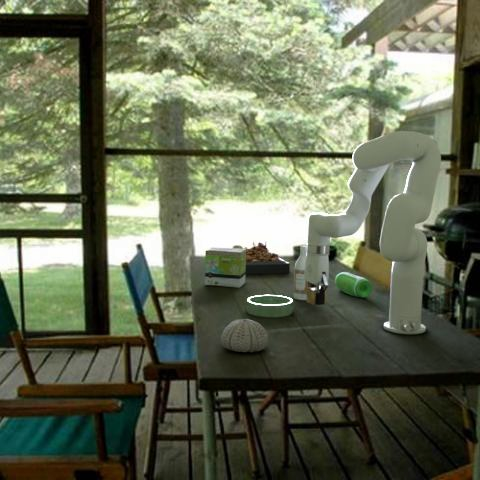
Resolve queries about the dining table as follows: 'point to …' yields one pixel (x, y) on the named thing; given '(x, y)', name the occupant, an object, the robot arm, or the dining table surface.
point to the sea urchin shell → (244, 336)
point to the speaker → (353, 284)
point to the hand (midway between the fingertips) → (316, 301)
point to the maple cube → (312, 295)
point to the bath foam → (300, 276)
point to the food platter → (263, 261)
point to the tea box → (225, 267)
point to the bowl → (270, 306)
